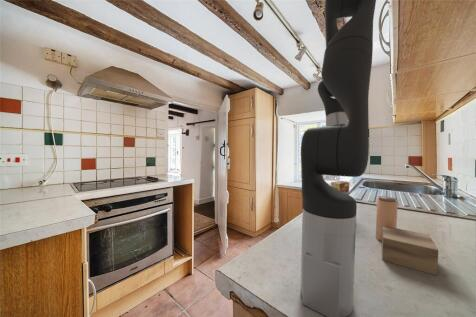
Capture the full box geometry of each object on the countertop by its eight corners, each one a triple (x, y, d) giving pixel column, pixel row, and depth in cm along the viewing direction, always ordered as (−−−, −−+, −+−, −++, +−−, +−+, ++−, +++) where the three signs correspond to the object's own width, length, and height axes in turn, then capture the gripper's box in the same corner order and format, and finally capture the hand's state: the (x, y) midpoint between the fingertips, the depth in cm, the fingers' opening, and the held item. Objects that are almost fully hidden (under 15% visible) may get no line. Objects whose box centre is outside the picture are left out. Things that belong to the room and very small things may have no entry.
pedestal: (437, 275, 43) (438, 250, 42) (382, 259, 49) (383, 237, 48) (428, 256, 50) (429, 234, 50) (381, 244, 57) (382, 225, 56)
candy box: (338, 219, 78) (339, 183, 77) (328, 216, 82) (329, 182, 81) (348, 215, 83) (350, 181, 82) (339, 212, 87) (340, 180, 86)
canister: (396, 245, 56) (398, 200, 56) (375, 240, 59) (377, 198, 59) (395, 239, 60) (397, 197, 60) (375, 234, 64) (377, 195, 63)
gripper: (344, 118, 62) (350, 166, 59) (352, 129, 73) (358, 169, 70) (320, 124, 67) (325, 168, 64) (331, 133, 77) (336, 171, 74)
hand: (342, 169), depth 67 cm, fingers open, 8 cm apart
